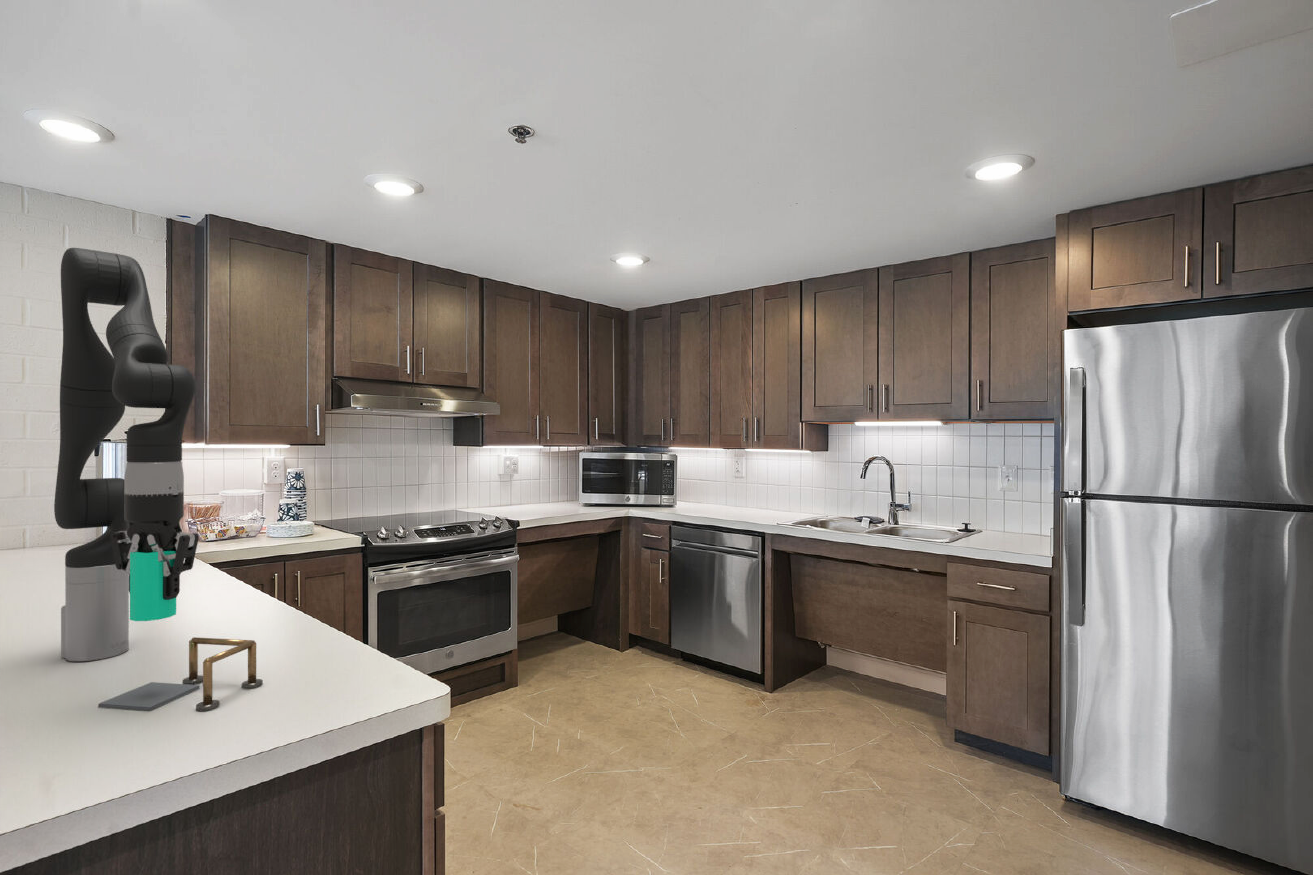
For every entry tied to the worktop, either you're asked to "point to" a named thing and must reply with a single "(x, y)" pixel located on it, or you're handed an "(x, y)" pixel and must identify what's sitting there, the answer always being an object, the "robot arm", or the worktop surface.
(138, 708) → the coaster
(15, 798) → the worktop surface
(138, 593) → the candle
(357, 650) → the worktop surface
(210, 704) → the handrail
